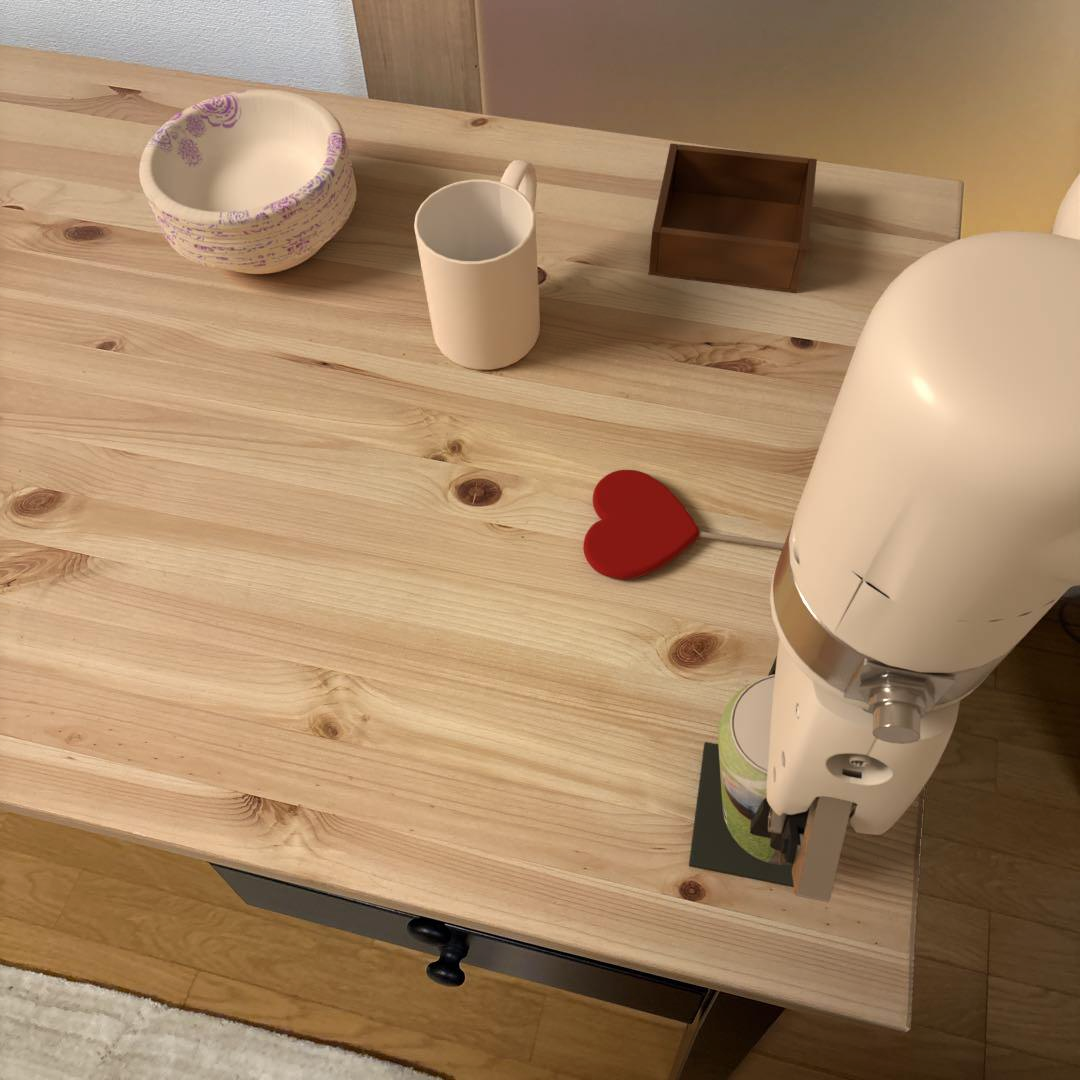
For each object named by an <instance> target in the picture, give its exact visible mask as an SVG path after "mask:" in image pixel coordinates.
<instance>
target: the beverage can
mask: <svg viewBox="0 0 1080 1080" xmlns="http://www.w3.org/2000/svg"><path fill="white" fill-rule="evenodd" d="M774 680H775V675H770V676H768V675H767V676H763V677H760V678H759V679H756V680H755V681H752V682H751V683H748V684H747V685H745V686H744V687H742V688H741V689H740V690H738V691H737V692H736V693H735V694H734V695H733V696H732V698H730V700H729V701H728V702H727V704H726V706H725V708H724V710H723V711H722V715H721V717H720V720H719V725H718V730H717V734H718V735H717V736H718V737H717V740H718V742H717V744H718V745H719V760H720V776H721V792H722V808H723V814H724V820H725V822H726V825H727V828H728V830H729V831H730V833H731V835H732V837H733V838H734V839H735V841H736V842H737V843H738V844H739V845H740V846H741V847H742V848H743V849H744V850H745V851H746V852H748V853H749V854H751V855H752V856H754V857H756V858H757V859H760V860H762V861H765V862H767V863H772V864H776V865H793V864H792V863H787V862H785V858H784V853H781V851H778V850H775V849H773V848H771V847H770V840H771V838H766V837H761V836H756V835H753V834H751V833H750V826H751V820H752V819H753V817H754V815H755V813H756V812H757V810H758V808H759V807H760V805H761V803H762V801H763V800H764V799H765V798H766V797H767V772H768V759H769V744H770V728H771V715H772V703H773V691H774Z"/></svg>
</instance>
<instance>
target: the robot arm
mask: <svg viewBox="0 0 1080 1080" xmlns="http://www.w3.org/2000/svg"><path fill="white" fill-rule="evenodd" d="M1052 225H1053V226H1052V230H1051V231H1052V232H1050V233H1049V232H1043V231H1042V232H1040V231H1032V230H1000V231H992V232H984V233H977V234H974V235H969V236H966V237H962V238H960V239H956V240H954V241H950V242H949V243H947V244H944V245H942V246H940V247H938V248H936V249H933V250H931V251H929V252H927V253H926V254H924V255H923V256H921V257H920V258H918V259H917V260H915V261H914V262H913V263H911V264H909V266H907V267H906V268H905V269H903V271H901V273H900V274H898V275H897V276H896V277H895V278H894V279H893V280H892V281H891V282H890V284H889V285H888V286H887V287H886V288H885V290H884V291H883V293H882V294H881V296H880V297H879V299H878V300H877V302H876V303H875V304H874V306H873V308H872V310H871V312H870V313H869V316H868V318H867V320H866V322H865V325H864V327H863V328H862V330H861V334H860V335H859V338H858V341H857V343H856V346H855V348H854V351H853V354H852V356H851V360H850V362H849V364H848V368H847V371H846V373H845V376H844V378H843V381H842V384H841V387H840V389H839V392H838V395H837V398H836V400H835V403H834V406H833V409H832V412H831V414H830V417H829V420H828V423H827V425H826V428H825V431H824V434H823V436H822V439H821V442H820V444H819V447H818V450H817V454H816V456H815V458H814V461H813V463H812V467H811V469H810V472H809V474H808V478H807V479H806V482H805V485H804V488H803V491H802V494H801V497H800V500H799V502H798V505H797V507H796V510H795V513H794V516H793V519H792V522H791V524H790V528H789V530H788V533H787V535H786V538H785V541H784V546H783V549H781V552H780V554H779V557H778V560H777V562H776V565H775V568H774V571H773V575H772V578H771V582H770V590H769V605H770V611H771V618H772V622H773V626H774V628H775V631H776V635H777V636H778V645H777V647H778V648H777V654H776V656H775V658H774V661H773V663H772V665H771V668H770V670H769V673H768V675H767V676H770V675H775V680H774V691H773V703H772V715H771V728H770V744H769V759H768V772H767V797H766V798H765V799H764V800H763V801H762V803H761V805H760V807H759V808H758V810H757V812H756V813H755V815H754V817H753V819H752V820H751V826H750V833H751V834H753V835H756V836H761V837H766V838H771V840H770V847H771V848H773V849H775V850H778V851H781V853H784V858H785V862H787V863H792V864H793V868H792V878H793V885H794V887H793V890H794V891H793V892H794V896H795V897H801V898H805V899H810V900H815V901H821V902H826V903H829V902H830V900H831V897H832V892H833V888H834V884H835V880H836V875H837V872H838V867H839V862H840V857H841V853H842V850H843V845H844V840H845V837H846V832H847V828H848V823H850V824H851V826H852V828H853V830H854V831H855V833H857V834H862V835H863V834H864V835H875V836H880V835H882V834H885V833H886V832H887V831H889V830H890V829H891V828H892V827H893V826H894V825H895V824H896V823H897V822H898V821H899V819H900V818H901V817H902V816H903V815H904V814H905V813H906V812H907V810H908V809H909V808H910V807H911V805H912V804H913V802H914V801H915V800H916V799H917V797H918V796H919V794H920V793H921V792H922V790H923V788H924V787H925V786H926V784H927V783H928V781H929V780H930V779H931V777H932V775H933V773H934V771H935V770H936V768H937V767H938V765H939V762H940V760H941V758H942V756H943V754H944V753H945V750H946V748H947V746H948V743H949V741H950V738H951V736H952V734H953V731H954V728H955V726H956V723H957V719H958V715H959V709H960V704H961V701H962V700H963V699H964V698H966V697H967V696H970V694H971V693H973V692H974V691H975V690H976V689H977V688H978V687H979V686H980V685H981V684H982V683H983V682H984V681H985V680H986V679H987V678H988V676H989V675H991V673H992V672H993V671H995V669H996V668H997V667H998V666H999V664H1000V663H1002V661H1003V660H1004V659H1005V658H1006V657H1007V656H1008V655H1009V654H1010V653H1011V652H1012V651H1013V650H1014V648H1015V647H1016V646H1017V645H1018V644H1019V643H1020V642H1021V641H1022V640H1023V638H1025V637H1026V636H1027V635H1028V633H1029V632H1030V631H1031V630H1032V629H1033V628H1034V627H1035V626H1036V625H1037V624H1038V622H1039V621H1040V620H1041V619H1042V618H1043V617H1044V616H1045V615H1046V614H1047V613H1048V612H1049V610H1051V608H1052V607H1053V606H1054V605H1055V604H1056V603H1057V602H1058V601H1059V600H1060V599H1061V597H1063V595H1065V593H1066V592H1067V591H1068V590H1069V589H1070V588H1072V587H1079V586H1080V172H1079V173H1078V174H1077V176H1075V178H1074V180H1073V182H1072V184H1071V185H1070V186H1069V188H1068V190H1067V192H1066V193H1065V195H1064V196H1063V199H1062V201H1061V202H1060V205H1059V207H1058V210H1057V213H1056V217H1055V219H1054V222H1053V224H1052ZM852 807H854V808H853V810H852Z"/></svg>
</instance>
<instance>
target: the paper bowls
mask: <svg viewBox="0 0 1080 1080" xmlns="http://www.w3.org/2000/svg"><path fill="white" fill-rule="evenodd" d="M348 147H349V146H348V142H347V138H346V134H345V132H344V128H343V126H342V124H341V123H340V121H339V120H338V119H337V117H336V116H335V115H334V114H333V113H332V112H331V111H330V109H328V108H327V107H326V106H325V105H322V103H320V102H319V101H316V100H315V99H313V98H310V97H308V96H307V95H306V96H305V95H304V94H301V93H298V92H293V91H288V90H280V89H269V88H255V89H244V90H237V91H230V92H226V93H222V94H219V95H216V96H215V95H214V96H212V97H210V98H206V99H203V100H201V101H199V102H197V103H195V104H193V105H191V106H189V107H187V108H185V109H183V110H181V111H180V112H178V113H176V114H175V115H174V116H172V117H171V118H169V119H168V120H167V121H166V122H165V123H163V124H162V125H161V126H160V127H159V128H158V130H156V132H155V133H154V134H153V135H152V136H151V138H150V139H149V141H148V142H147V143H146V145H145V147H144V149H143V152H142V154H141V157H140V162H139V167H138V168H139V171H138V173H139V174H138V176H139V182H140V186H141V189H142V190H143V193H144V195H145V198H146V199H147V203H148V204H149V206H150V209H151V211H152V213H153V215H154V217H155V220H156V222H157V224H158V226H159V228H160V230H161V232H162V234H163V236H164V238H165V239H166V241H167V242H168V243H169V245H170V247H172V249H174V250H175V252H177V253H178V254H179V255H180V256H182V258H183V257H184V258H185V259H187V260H189V261H191V262H193V263H195V264H199V265H200V266H204V267H208V268H213V269H218V270H223V271H233V272H237V273H242V274H249V275H265V274H266V275H267V274H268V275H269V274H275V273H279V272H284V271H286V270H288V269H291V268H294V267H296V266H299V265H300V264H302V263H304V262H305V261H307V260H309V259H310V258H311V257H313V256H314V255H315V254H316V253H317V252H318V251H320V249H322V248H323V246H324V245H325V244H327V242H329V241H330V240H331V239H333V237H334V236H336V234H337V233H338V232H339V231H340V230H341V229H342V228H343V227H344V225H345V224H346V223H347V222H348V220H349V217H350V216H351V213H352V211H353V209H354V207H355V204H356V200H357V185H356V178H355V174H354V173H355V172H354V170H353V164H352V161H351V157H350V151H349V149H348Z"/></svg>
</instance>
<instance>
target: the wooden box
mask: <svg viewBox="0 0 1080 1080" xmlns="http://www.w3.org/2000/svg"><path fill="white" fill-rule="evenodd" d="M817 164H818V159H817V158H808V157H803V156H802V157H800V156H794V155H793V156H791V155H782V154H772V153H763V152H757V151H756V152H755V151H754V152H752V151H745V150H736V149H728V148H718V147H708V146H699V145H691V144H680V143H673V142H671V143H670V144H669V148H668V153H667V158H666V162H665V168H664V171H663V172H664V173H663V176H662V182H661V187H660V192H659V196H658V200H657V205H656V210H655V215H654V219H653V225H652V229H651V230H652V231H651V239H650V249H649V250H650V251H649V262H648V275H650V276H658V277H666V278H674V279H681V280H689V281H690V280H691V281H698V282H707V283H714V284H722V285H730V286H738V287H744V288H745V287H746V288H753V289H760V290H761V289H762V290H769V291H776V292H777V291H779V292H784V293H785V292H786V293H793V294H797V293H798V291H799V286H800V282H801V278H802V274H803V271H804V268H805V263H806V259H807V256H808V253H809V245H810V234H811V227H812V226H811V225H812V224H811V223H812V216H813V215H812V214H813V206H814V205H813V204H814V195H815V184H816V175H817Z"/></svg>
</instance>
